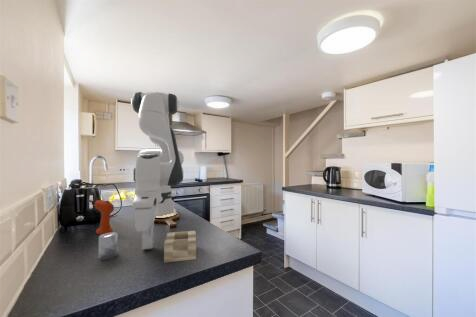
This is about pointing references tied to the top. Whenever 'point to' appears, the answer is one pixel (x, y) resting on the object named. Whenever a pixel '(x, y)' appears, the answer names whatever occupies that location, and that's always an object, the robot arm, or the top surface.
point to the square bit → (150, 241)
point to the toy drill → (104, 215)
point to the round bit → (108, 246)
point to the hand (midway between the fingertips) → (148, 235)
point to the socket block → (180, 246)
